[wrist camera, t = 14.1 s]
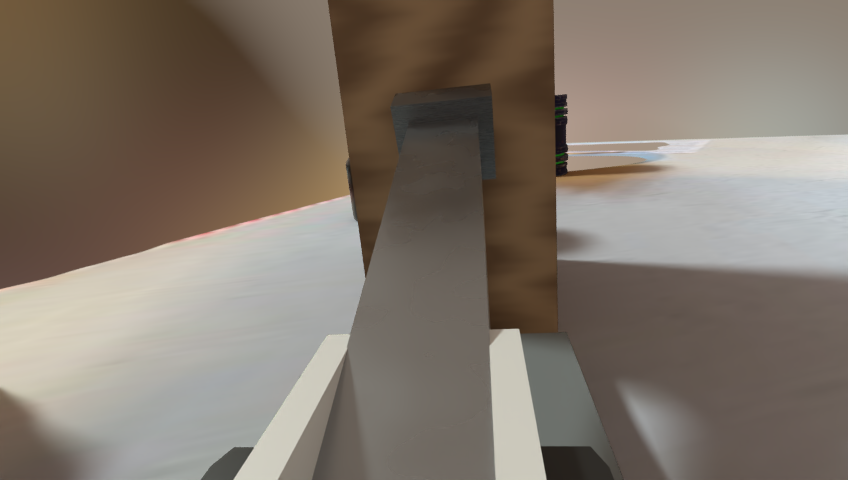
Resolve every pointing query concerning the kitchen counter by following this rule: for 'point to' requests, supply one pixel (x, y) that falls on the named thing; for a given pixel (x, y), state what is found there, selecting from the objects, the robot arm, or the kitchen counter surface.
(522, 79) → the brown wooden tall block
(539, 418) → the gray block
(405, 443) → the grey bar
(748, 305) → the kitchen counter surface
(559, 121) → the storage jar
